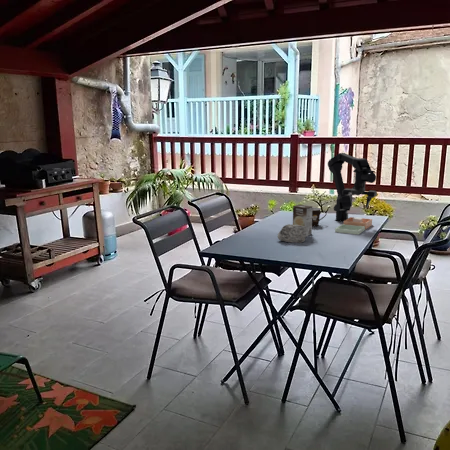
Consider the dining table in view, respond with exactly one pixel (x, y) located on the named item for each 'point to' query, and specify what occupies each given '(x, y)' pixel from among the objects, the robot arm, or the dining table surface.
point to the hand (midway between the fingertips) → (358, 207)
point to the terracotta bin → (366, 222)
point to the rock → (292, 233)
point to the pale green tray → (350, 229)
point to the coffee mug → (316, 216)
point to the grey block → (358, 219)
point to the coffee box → (303, 217)
